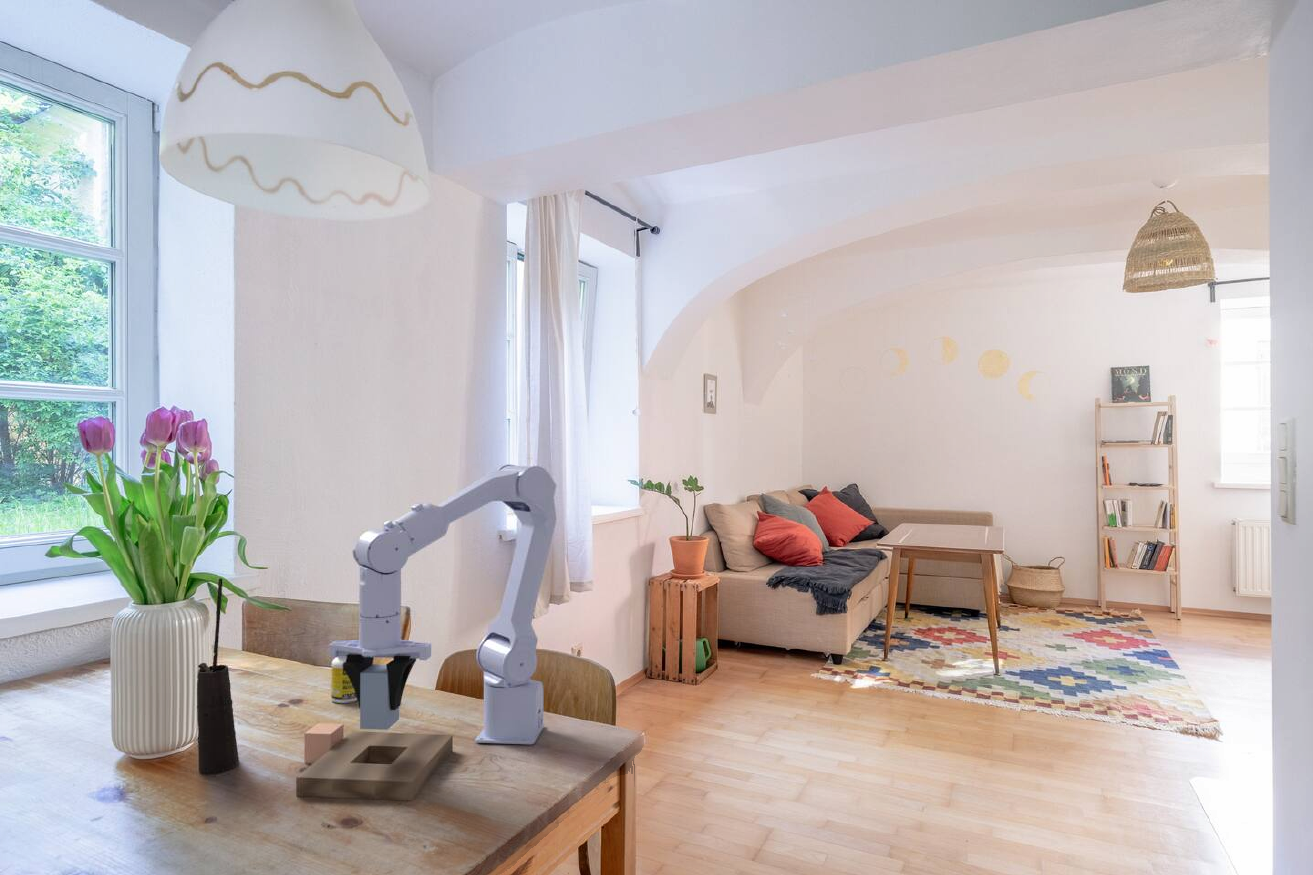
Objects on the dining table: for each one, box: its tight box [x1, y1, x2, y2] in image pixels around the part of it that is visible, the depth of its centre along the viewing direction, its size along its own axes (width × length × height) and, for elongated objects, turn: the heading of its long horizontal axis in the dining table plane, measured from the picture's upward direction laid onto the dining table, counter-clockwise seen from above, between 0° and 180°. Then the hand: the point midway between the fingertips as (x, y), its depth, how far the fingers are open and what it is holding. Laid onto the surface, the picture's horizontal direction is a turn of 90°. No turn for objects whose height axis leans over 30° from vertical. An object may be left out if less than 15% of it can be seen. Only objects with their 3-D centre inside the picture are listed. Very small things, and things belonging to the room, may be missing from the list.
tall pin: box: [359, 663, 400, 731], centre depth 109 cm, size 4×4×8 cm
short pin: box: [303, 722, 345, 764], centre depth 114 cm, size 4×4×4 cm
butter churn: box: [196, 577, 240, 775], centre depth 111 cm, size 9×10×28 cm
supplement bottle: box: [330, 656, 358, 704], centre depth 140 cm, size 5×5×10 cm
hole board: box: [295, 730, 454, 801], centre depth 109 cm, size 16×16×2 cm
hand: (379, 707), depth 109 cm, fingers closed on tall pin, 4 cm apart
